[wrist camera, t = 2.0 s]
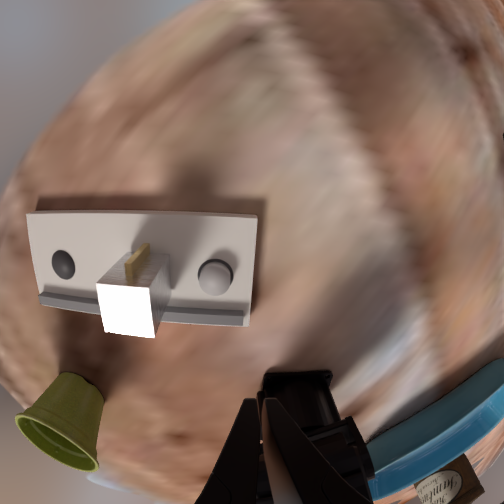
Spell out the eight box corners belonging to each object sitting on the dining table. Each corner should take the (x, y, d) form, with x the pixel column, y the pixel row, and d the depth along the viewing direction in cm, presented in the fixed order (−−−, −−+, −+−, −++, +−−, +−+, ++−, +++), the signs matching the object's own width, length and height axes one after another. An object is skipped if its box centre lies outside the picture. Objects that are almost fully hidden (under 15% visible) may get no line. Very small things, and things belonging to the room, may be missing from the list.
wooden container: (434, 452, 37) (468, 519, 17) (468, 438, 39) (500, 493, 19) (399, 483, 42) (423, 543, 21) (435, 469, 44) (460, 520, 23)
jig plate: (256, 214, 18) (258, 222, 16) (248, 317, 21) (249, 334, 19) (34, 210, 17) (18, 216, 15) (49, 298, 20) (37, 310, 17)
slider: (169, 243, 17) (147, 274, 12) (171, 294, 18) (154, 337, 14) (126, 241, 17) (93, 270, 12) (131, 291, 18) (105, 331, 13)
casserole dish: (520, 322, 26) (545, 343, 20) (496, 395, 34) (512, 414, 27) (323, 446, 29) (335, 487, 22) (346, 483, 36) (354, 511, 30)
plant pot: (99, 363, 22) (66, 429, 14) (130, 421, 25) (113, 480, 17) (35, 355, 22) (-1, 405, 14) (69, 410, 25) (46, 459, 17)
